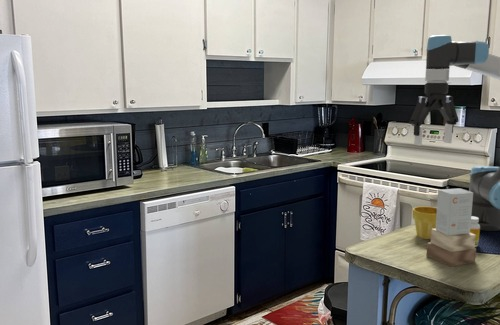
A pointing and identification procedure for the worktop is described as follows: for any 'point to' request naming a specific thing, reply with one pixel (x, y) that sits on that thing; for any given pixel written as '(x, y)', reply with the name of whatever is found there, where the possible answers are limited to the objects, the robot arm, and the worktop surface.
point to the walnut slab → (450, 255)
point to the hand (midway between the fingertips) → (432, 144)
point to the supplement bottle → (475, 228)
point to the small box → (454, 211)
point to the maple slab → (453, 241)
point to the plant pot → (424, 220)
